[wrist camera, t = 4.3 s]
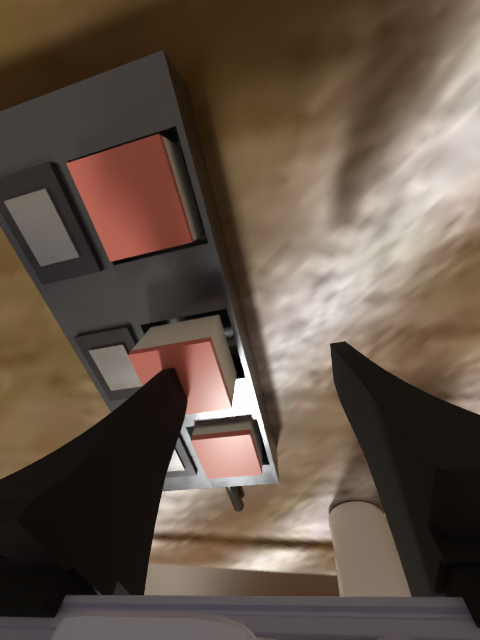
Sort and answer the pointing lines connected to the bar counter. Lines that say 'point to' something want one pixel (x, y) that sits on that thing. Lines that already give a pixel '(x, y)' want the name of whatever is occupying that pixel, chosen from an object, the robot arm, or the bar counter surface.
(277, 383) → the bar counter surface
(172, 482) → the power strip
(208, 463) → the button
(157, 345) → the button
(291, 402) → the bar counter surface
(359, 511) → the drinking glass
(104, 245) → the button
